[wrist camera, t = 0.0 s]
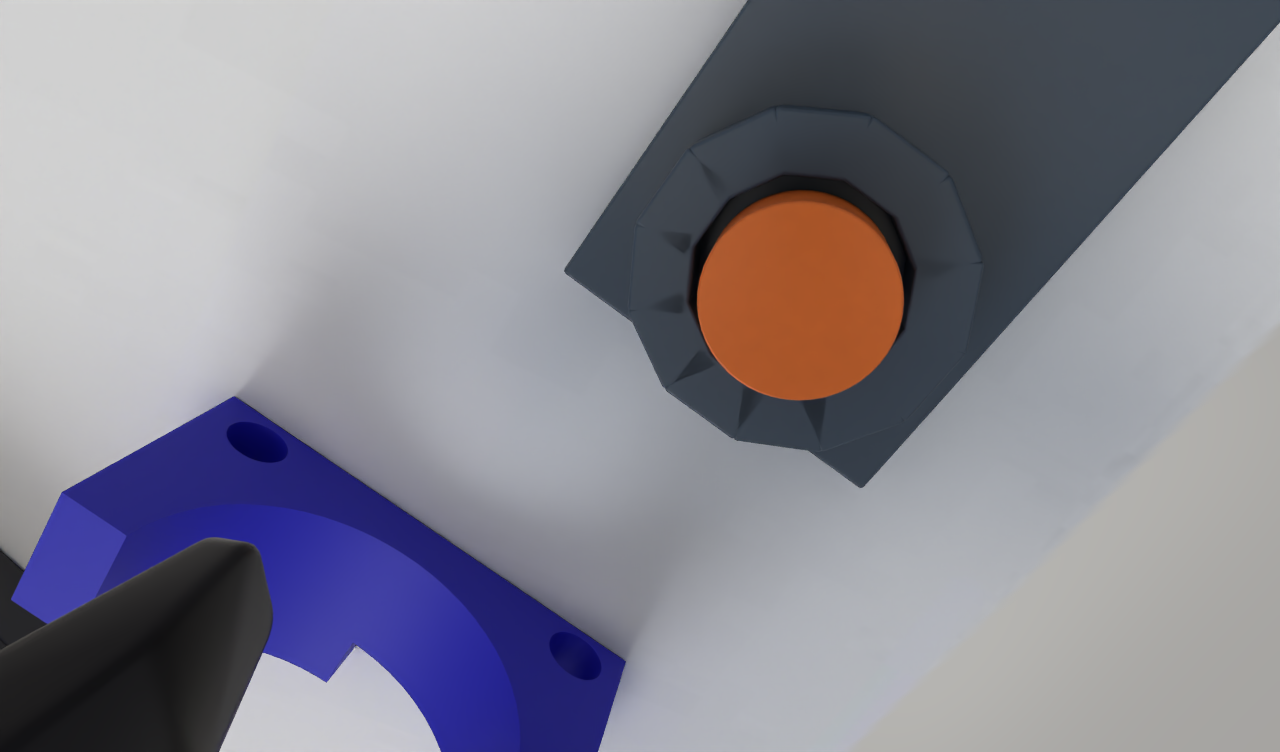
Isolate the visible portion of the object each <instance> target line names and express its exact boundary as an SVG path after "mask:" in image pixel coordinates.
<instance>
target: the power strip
mask: <svg viewBox="0 0 1280 752" xmlns="http://www.w3.org/2000/svg"><path fill="white" fill-rule="evenodd" d="M23 573H24V572H23V571H22V570H21V569H20V568H19V567H17V566H16V565H15V564H14V563H13V562H12V561H11V560H10V559H9V558H8V557H6V556H5V555H4V554H3V553H2V552H1V551H0V650H1V649H3V648H4V647H6V646H8V645H10V644H12V643H14V642H15V641H17V640H19V639H21V638H23V637H25V636H26V635H28V634H30V633H32V632H34V631H36V630H37V629H39V628H41V627H43V626H45V625H47V623H45V622H44V621H42V620H41V619H39V618H38V617H36V616H34V615H33V614H31V613H30V612H28V611H27V610H25V609H24V608H22V607H21V606H19V605H18V604H16V603H15V602H13V601H12V600H11V598H12V596H13V594H14V592H15V590H16V588H17V586H18V583H19V581H20V579H21V577H22V575H23Z"/></svg>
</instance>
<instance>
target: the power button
mask: <svg viewBox="0 0 1280 752" xmlns="http://www.w3.org/2000/svg"><path fill="white" fill-rule="evenodd" d="M903 308H904V289H903V283H902V277H901V274H900V271H899V267H898V264H897V262H896V260H895V258H894V256H893V254H892V252H891V250H890V247H889V245H888V243H887V241H886V239H885V237H884V236H883V234H882V233H881V231H880V230H879V228H878V227H877V225H876V224H875V223H874V222H873V221H872V220H871V219H870V217H869V216H867V215H866V214H865V213H864V212H863V211H862V210H860V209H859V208H858V207H856V206H855V205H853V204H852V203H850V202H848V201H846V200H844V199H842V198H840V197H838V196H835V195H831V194H828V193H825V192H819V191H814V190H792V191H785V192H780V193H776V194H773V195H770V196H767V197H764V198H762V199H760V200H758V201H756V202H754V203H752V204H751V205H749V206H748V207H746V208H745V209H743V210H742V211H741V212H740V213H739V214H737V215H736V216H735V217H734V218H733V219H732V220H731V221H730V222H729V224H728V225H727V226H726V227H725V228H724V230H723V231H722V233H721V234H720V236H719V237H718V239H717V241H716V243H715V244H714V246H713V248H712V250H711V252H710V254H709V256H708V258H707V260H706V262H705V264H704V267H703V270H702V273H701V276H700V280H699V285H698V291H697V310H698V318H699V323H700V327H701V331H702V333H703V336H704V339H705V341H706V343H707V345H708V347H709V349H710V351H711V352H712V354H713V355H714V357H715V358H716V359H717V361H718V362H719V363H720V365H721V366H722V367H723V368H724V369H725V370H726V371H727V372H728V373H729V374H730V375H732V376H733V377H734V378H735V379H736V380H738V381H739V382H741V383H742V384H744V385H745V386H747V387H749V388H751V389H753V390H755V391H757V392H759V393H762V394H765V395H768V396H771V397H775V398H780V399H786V400H813V399H818V398H824V397H827V396H831V395H834V394H837V393H839V392H842V391H844V390H846V389H848V388H850V387H852V386H853V385H855V384H857V383H858V382H860V381H861V380H863V379H864V378H865V377H866V376H868V375H869V374H870V373H871V372H872V371H873V370H874V369H875V368H876V367H877V366H878V365H879V364H880V363H881V362H882V360H883V359H884V358H885V356H886V355H887V354H888V352H889V350H890V349H891V347H892V345H893V343H894V341H895V339H896V336H897V334H898V331H899V329H900V325H901V321H902V317H903Z"/></svg>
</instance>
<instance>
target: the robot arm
mask: <svg viewBox="0 0 1280 752" xmlns="http://www.w3.org/2000/svg"><path fill="white" fill-rule="evenodd" d="M272 624H273V607H272V602H271V598H270V593H269V589H268V584H267V580H266V575H265V571H264V566H263V562H262V558H261V554H260V551H259V550H258V549H257V548H256V546H255V545H254V544H251V543H249V542H244V541H238V540H231V539H225V538H219V537H209V538H206V539H203V540H201V541H199V542H197V543H195V544H193V545H191V546H189V547H188V548H186V549H184V550H182V551H180V552H178V553H177V554H175V555H173V556H171V557H169V558H167V559H166V560H164V561H162V562H160V563H158V564H156V565H155V566H153V567H151V568H149V569H147V570H145V571H144V572H142V573H140V574H138V575H136V576H134V577H133V578H131V579H129V580H127V581H125V582H123V583H122V584H120V585H118V586H116V587H114V588H112V589H111V590H109V591H107V592H105V593H103V594H101V595H100V596H98V597H96V598H94V599H92V600H91V601H89V602H87V603H85V604H83V605H81V606H80V607H78V608H76V609H74V610H72V611H70V612H69V613H67V614H65V615H63V616H61V617H59V618H58V619H56V620H54V621H52V622H50V623H48V624H47V625H45V626H43V627H41V628H39V629H37V630H36V631H34V632H32V633H30V634H28V635H26V636H25V637H23V638H21V639H19V640H17V641H15V642H14V643H12V644H10V645H8V646H6V647H4V648H3V649H1V650H0V752H219V751H220V748H221V746H222V744H223V741H224V739H225V737H226V735H227V732H228V730H229V728H230V726H231V723H232V721H233V719H234V716H235V714H236V712H237V710H238V707H239V705H240V703H241V701H242V698H243V696H244V694H245V691H246V689H247V687H248V685H249V682H250V680H251V678H252V676H253V673H254V671H255V669H256V666H257V664H258V662H259V660H260V657H261V655H262V653H263V650H264V648H265V646H266V644H267V641H268V639H269V636H270V633H271V629H272Z"/></svg>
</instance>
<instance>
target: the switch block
mask: <svg viewBox="0 0 1280 752" xmlns="http://www.w3.org/2000/svg"><path fill="white" fill-rule="evenodd" d="M1279 23H1280V0H748V1H747V2H746V4H745V5H744V7H743V8H742V10H741V11H740V13H739V14H738V16H737V17H736V19H735V20H734V21H733V23H732V24H731V26H730V27H729V29H728V30H727V32H726V33H725V35H724V36H723V38H722V39H721V41H720V42H719V43H718V45H717V46H716V48H715V49H714V51H713V52H712V54H711V55H710V57H709V58H708V60H707V61H706V63H705V64H704V65H703V67H702V68H701V70H700V71H699V73H698V74H697V76H696V77H695V79H694V80H693V82H692V83H691V84H690V86H689V87H688V89H687V90H686V92H685V93H684V95H683V96H682V98H681V99H680V101H679V102H678V104H677V105H676V106H675V108H674V109H673V111H672V112H671V114H670V115H669V117H668V118H667V120H666V121H665V123H664V124H663V125H662V127H661V128H660V130H659V131H658V133H657V134H656V136H655V137H654V139H653V140H652V142H651V143H650V145H649V146H648V147H647V149H646V150H645V152H644V153H643V155H642V156H641V158H640V159H639V161H638V162H637V164H636V165H635V166H634V168H633V169H632V171H631V172H630V174H629V175H628V177H627V178H626V180H625V181H624V183H623V184H622V186H621V187H620V188H619V190H618V191H617V193H616V194H615V196H614V197H613V199H612V200H611V202H610V203H609V205H608V206H607V207H606V209H605V210H604V212H603V213H602V215H601V216H600V218H599V219H598V221H597V222H596V224H595V225H594V227H593V228H592V229H591V231H590V232H589V234H588V235H587V237H586V238H585V240H584V241H583V243H582V244H581V246H580V247H579V249H578V250H577V251H576V253H575V254H574V256H573V257H572V259H571V260H570V262H569V263H568V265H567V266H566V268H565V270H564V272H565V273H566V274H567V275H568V276H570V277H571V278H572V279H574V280H575V281H577V282H578V283H579V284H581V285H582V286H583V287H585V288H586V289H588V290H589V291H590V292H592V293H593V294H594V295H596V296H597V297H598V298H600V299H601V300H603V301H604V302H605V303H607V304H608V305H609V306H611V307H612V308H614V309H615V310H616V311H618V312H619V313H620V314H622V315H623V316H625V317H626V318H627V319H629V320H630V321H631V322H633V324H634V326H635V329H636V331H637V333H638V335H639V337H640V339H641V341H642V344H643V346H644V348H645V350H646V352H647V354H648V356H649V359H650V361H651V363H652V365H653V367H654V369H655V371H656V374H657V376H658V378H659V380H660V382H661V384H662V386H663V387H664V388H665V389H666V391H667V392H669V393H670V394H671V395H673V396H674V397H676V398H677V399H678V400H680V401H681V402H682V403H684V404H685V405H687V406H688V407H689V408H691V409H692V410H693V411H695V412H696V413H698V414H699V415H700V416H702V417H703V418H704V419H706V420H707V421H709V422H710V423H711V424H713V425H714V426H715V427H717V428H718V429H720V430H721V431H722V432H724V433H725V434H726V435H728V436H729V437H731V438H734V439H735V440H737V441H744V442H751V443H758V444H765V445H773V446H780V447H787V448H794V449H801V450H808V451H810V452H811V453H812V454H814V455H815V456H816V457H818V458H819V459H821V460H822V461H823V462H825V463H826V464H827V465H829V466H830V467H832V468H833V469H834V470H836V471H837V472H838V473H840V474H841V475H843V476H844V477H845V478H847V479H848V480H849V481H851V482H852V483H853V484H855V485H856V486H858V487H859V488H862V487H864V486H865V485H866V484H867V483H868V482H869V480H870V479H871V478H872V477H873V476H874V475H875V474H876V473H877V471H878V470H879V469H880V468H881V467H882V466H883V465H884V464H885V463H886V461H887V460H888V459H889V458H890V457H891V456H892V455H893V454H894V452H895V451H896V450H897V449H898V448H899V447H900V446H901V445H902V444H903V442H904V441H905V440H906V439H907V438H908V437H909V436H910V435H911V433H912V432H913V431H914V430H915V429H916V428H917V427H918V426H919V425H920V423H921V422H922V421H923V420H924V419H925V418H926V417H927V416H928V415H929V413H930V412H931V411H932V410H933V409H934V408H935V407H936V406H937V404H938V403H939V402H940V401H941V400H942V399H943V398H944V397H945V396H946V394H947V393H948V392H949V391H950V390H951V389H952V388H953V387H954V385H955V384H956V383H957V382H958V381H959V380H960V379H961V378H962V377H963V375H964V374H965V373H966V372H967V371H968V370H969V369H970V368H971V367H972V365H973V364H974V363H975V362H976V361H977V360H978V359H979V358H980V356H981V355H982V354H983V353H984V352H985V351H986V350H987V349H988V348H989V346H990V345H991V344H992V343H993V342H994V341H995V340H996V339H997V337H998V336H999V335H1000V334H1001V333H1002V332H1003V331H1004V330H1005V329H1006V327H1007V326H1008V325H1009V324H1010V323H1011V322H1012V321H1013V320H1014V319H1015V317H1016V316H1017V315H1018V314H1019V313H1020V312H1021V311H1022V310H1023V308H1024V307H1025V306H1026V305H1027V304H1028V303H1029V302H1030V301H1031V300H1032V298H1033V297H1034V296H1035V295H1036V294H1037V293H1038V292H1039V291H1040V289H1041V288H1042V287H1043V286H1044V285H1045V284H1046V283H1047V282H1048V281H1049V279H1050V278H1051V277H1052V276H1053V275H1054V274H1055V273H1056V272H1057V271H1058V269H1059V268H1060V267H1061V266H1062V265H1063V264H1064V263H1065V262H1066V260H1067V259H1068V258H1069V257H1070V256H1071V255H1072V254H1073V253H1074V252H1075V250H1076V249H1077V248H1078V247H1079V246H1080V245H1081V244H1082V243H1083V241H1084V240H1085V239H1086V238H1087V237H1088V236H1089V235H1090V234H1091V233H1092V231H1093V230H1094V229H1095V228H1096V227H1097V226H1098V225H1099V224H1100V223H1101V221H1102V220H1103V219H1104V218H1105V217H1106V216H1107V215H1108V214H1109V212H1110V211H1111V210H1112V209H1113V208H1114V207H1115V206H1116V205H1117V204H1118V202H1119V201H1120V200H1121V199H1122V198H1123V197H1124V196H1125V195H1126V193H1127V192H1128V191H1129V190H1130V189H1131V188H1132V187H1133V186H1134V185H1135V183H1136V182H1137V181H1138V180H1139V179H1140V178H1141V177H1142V176H1143V174H1144V173H1145V172H1146V171H1147V170H1148V169H1149V168H1150V167H1151V166H1152V164H1153V163H1154V162H1155V161H1156V160H1157V159H1158V158H1159V157H1160V156H1161V154H1162V153H1163V152H1164V151H1165V150H1166V149H1167V148H1168V147H1169V145H1170V144H1171V143H1172V142H1173V141H1174V140H1175V139H1176V138H1177V137H1178V135H1179V134H1180V133H1181V132H1182V131H1183V130H1184V129H1185V128H1186V126H1187V125H1188V124H1189V123H1190V122H1191V121H1192V120H1193V119H1194V118H1195V116H1196V115H1197V114H1198V113H1199V112H1200V111H1201V110H1202V109H1203V108H1204V106H1205V105H1206V104H1207V103H1208V102H1209V101H1210V100H1211V99H1212V97H1213V96H1214V95H1215V94H1216V93H1217V92H1218V91H1219V90H1220V89H1221V87H1222V86H1223V85H1224V84H1225V83H1226V82H1227V81H1228V80H1229V78H1230V77H1231V76H1232V75H1233V74H1234V73H1235V72H1236V71H1237V70H1238V68H1239V67H1240V66H1241V65H1242V64H1243V63H1244V62H1245V61H1246V60H1247V58H1248V57H1249V56H1250V55H1251V54H1252V53H1253V52H1254V51H1255V49H1256V48H1257V47H1258V46H1259V45H1260V44H1261V43H1262V42H1263V41H1264V39H1265V38H1266V37H1267V36H1268V35H1269V34H1270V33H1271V32H1272V30H1273V29H1274V28H1275V27H1276V26H1277V25H1278V24H1279ZM792 190H814V191H819V192H825V193H828V194H831V195H835V196H838V197H840V198H842V199H844V200H846V201H848V202H850V203H852V204H853V205H855V206H856V207H858V208H859V209H860V210H862V211H863V212H864V213H865V214H866V215H867V216H869V217H870V219H871V220H872V221H873V222H874V223H875V224H876V225H877V227H878V228H879V230H880V231H881V233H882V234H883V236H884V237H885V239H886V241H887V243H888V245H889V247H890V250H891V252H892V254H893V256H894V258H895V260H896V262H897V264H898V267H899V271H900V274H901V277H902V283H903V289H904V308H903V317H902V321H901V325H900V329H899V331H898V334H897V336H896V339H895V341H894V343H893V345H892V347H891V349H890V350H889V352H888V354H887V355H886V356H885V358H884V359H883V360H882V362H881V363H880V364H879V365H878V366H877V367H876V368H875V369H874V370H873V371H872V372H871V373H870V374H869V375H868V376H866V377H865V378H864V379H863V380H861V381H860V382H858V383H857V384H855V385H853V386H852V387H850V388H848V389H846V390H844V391H842V392H839V393H837V394H834V395H831V396H827V397H824V398H818V399H813V400H786V399H780V398H775V397H771V396H768V395H765V394H762V393H759V392H757V391H755V390H753V389H751V388H749V387H747V386H745V385H744V384H742V383H741V382H739V381H738V380H736V379H735V378H734V377H733V376H732V375H730V374H729V373H728V372H727V371H726V370H725V369H724V368H723V367H722V366H721V365H720V363H719V362H718V361H717V359H716V358H715V357H714V355H713V354H712V352H711V351H710V349H709V347H708V345H707V343H706V341H705V339H704V336H703V333H702V331H701V327H700V323H699V318H698V310H697V291H698V285H699V280H700V276H701V273H702V270H703V267H704V264H705V262H706V260H707V258H708V256H709V254H710V252H711V250H712V248H713V246H714V244H715V243H716V241H717V239H718V237H719V236H720V234H721V233H722V231H723V230H724V228H725V227H726V226H727V225H728V224H729V222H730V221H731V220H732V219H733V218H734V217H735V216H736V215H737V214H739V213H740V212H741V211H742V210H743V209H745V208H746V207H748V206H749V205H751V204H752V203H754V202H756V201H758V200H760V199H762V198H764V197H767V196H770V195H773V194H776V193H780V192H785V191H792Z"/></svg>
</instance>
